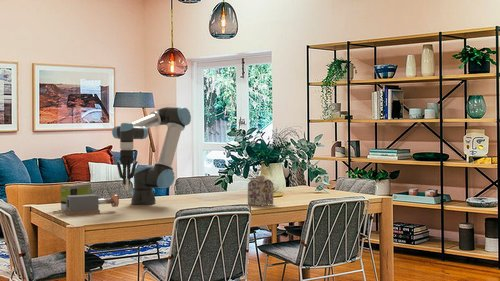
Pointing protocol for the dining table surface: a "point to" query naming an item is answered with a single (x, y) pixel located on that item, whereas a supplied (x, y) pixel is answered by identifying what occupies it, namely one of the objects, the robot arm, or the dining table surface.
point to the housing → (82, 205)
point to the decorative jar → (260, 191)
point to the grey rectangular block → (110, 201)
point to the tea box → (73, 191)
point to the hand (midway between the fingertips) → (126, 190)
